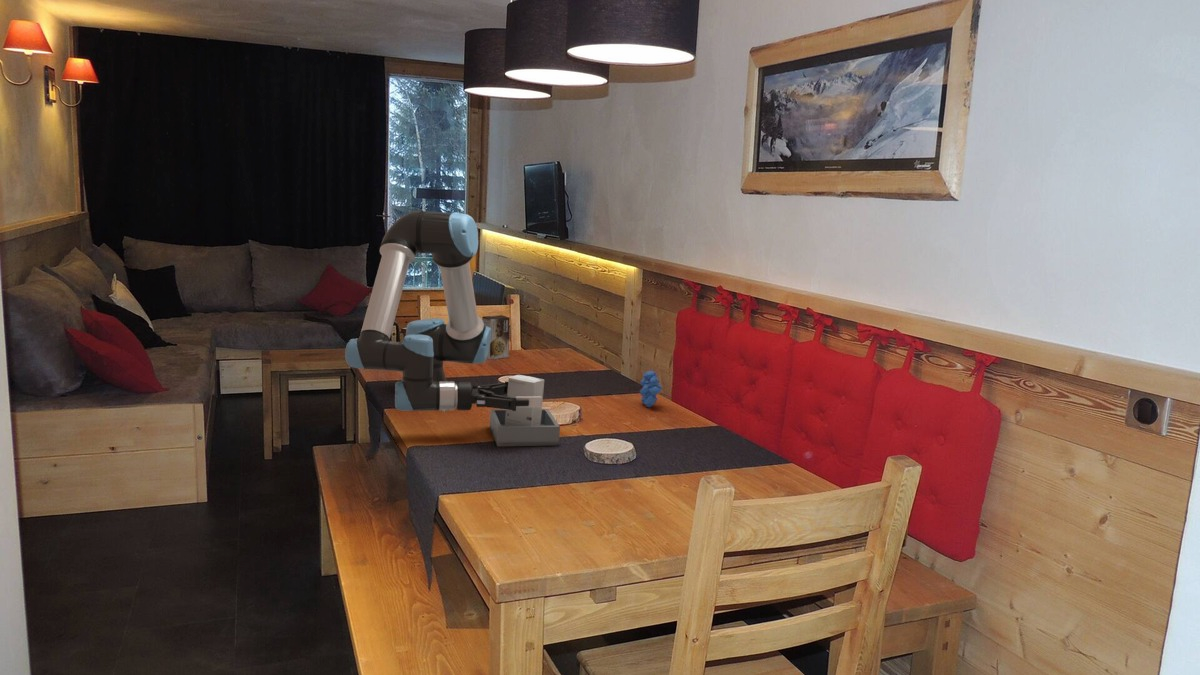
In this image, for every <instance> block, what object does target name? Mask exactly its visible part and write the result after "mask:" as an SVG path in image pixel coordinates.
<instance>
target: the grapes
mask: <svg viewBox="0 0 1200 675" xmlns="http://www.w3.org/2000/svg"><path fill="white" fill-rule="evenodd" d="M657 376H658V375H657V373H656V371H654V370H648V371H646V372H644V373H643V378H642V379H641V380H640V382H639V383H640V385H641V386H642V387H641V388H640V390H639V394H640V395H641V396H642V397H641V399H640V401H641V402H642V404H643V405H645V407H647V408H651V407H653V405H654V404H655V403H657V401H658V397H657V395H658V394H659V393H660V392H662V390H663V387H662V385H661V384H659V383H660V380H659V378H658V377H657Z"/></svg>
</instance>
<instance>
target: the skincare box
mask: <svg viewBox="0 0 1200 675" xmlns="http://www.w3.org/2000/svg"><path fill="white" fill-rule="evenodd" d="M507 380H508V381H507V382H508V392H507V394H506V396H507V397H513V398H516V397H542V398H541V407H530V408H516V411H512V410H508V409H506V415H505V426H540V425H541V413H542V409H543V400H544V387H545V379H543V378H538V377H534V376H529V375H522V374H516V375H513V376H509V377H508V379H507Z"/></svg>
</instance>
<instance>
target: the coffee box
mask: <svg viewBox="0 0 1200 675" xmlns="http://www.w3.org/2000/svg"><path fill="white" fill-rule="evenodd" d="M481 319H482V321H483V323H484V327H486V326H487V327H489V328H491V343H490V348H489V353H488V356H487V359H486V360H497V359H504V358H505V359H507V358H509V357H510V321H511V320H510V319H511V318H510V317H508V316H506V315H502V314H500V315H496V314H495V315H486V316H482V318H481Z"/></svg>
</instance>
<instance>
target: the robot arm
mask: <svg viewBox="0 0 1200 675" xmlns="http://www.w3.org/2000/svg"><path fill="white" fill-rule="evenodd" d="M478 249H479V231H478V227H477V224H476V221H475V220H474V218H473V217H472V216H470V214H467V213H460V212H457V211H456V212H454V211H453V212H439V211H424V210H415V211H411V212H408V213H405V214H403V215H402V216H401V217H399V218H398V219H397V220H396V221H395V222H393V223H392V225H390V227H389V229H388V230H387V231H386V233H385V234H384V236H383V237H382V241H381V243H380V247H379V254H380V255H381V258H380V262H379V265H378V269H377V273H376V276H375V279H374V283H373V287H372V290H371V294H370V298H369V301H368V305H367V309H366V312H365V316H364V319H363V324H362V328H361V331H360V335H359V338H357V337H356V338H351V339H350V340H348V342H347V343H346V346H345V350H344V354H345V355H344V358H345V362H346V364H347V365H348V366H349V367H351V368H355V369H360V370H361V369H362V370H377V371H378V370H379V371H389V372H390V371H391V372H402V377H401V380H400V381H397V382H396V381H395V384H394V406H395V409H396V410H398V411H405V412H407V411H408V412H411V411H412V412H420V411H421V412H425V411H426V412H428V411H442V412H443V413H446V412H447V411H455V409H456V410H457V411H471V409H472V406H473V404H476V407H477V408H490V409H508V410H512V411H516V408H530V407H541V398H542V397H516V398H513V397H507V392H508V381H504V382H498V383H491V384H490V383H489V384H488V383H487V384H483V385H481V384H480V385H475V384H474V385H472V382H471V381H458V382H456V383H455V381H453V380H451V381H448V380H447V377H446V375H445V371H444V362H451V363H463V364H472V365H474V364H483V363H485V362H486V361H487V360H488V359H487V356H488V353H489V348H490V343H491V328H489V327H487V326H486V327H484V323H483V321H482V318H481V317H480V316H478V311H477V303H476V296H475V291H474V285H473V284H474V283H473V278H472V270H471V264H470V263H471V261H472V260H473V258H474V256H476V254H477V252H478ZM419 253H421V254H428V255H431V258H432V261H433V263H434V264H435V265H437V267H439V271H440V276H441V282H442V286H443V287H442V289H443V293H444V300H445V303H446V309H447V315H448V322H447V323H445V320H444V318H425V319H417V320H413V321H410V322H408V323H407V325H406V329H405V336H404V337H403V339H402V341H392V340H390V339H391V335H392V332H393V328H394V323H395V319H396V315H397V312H398V308H399V304H400V301H401V296H402V292H403V289H404V285H405V282H406V278H407V273H408V270H409V266H410V264H411V263H413V262H414V261H415V258H416V254H419ZM505 395H506V396H505Z"/></svg>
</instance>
